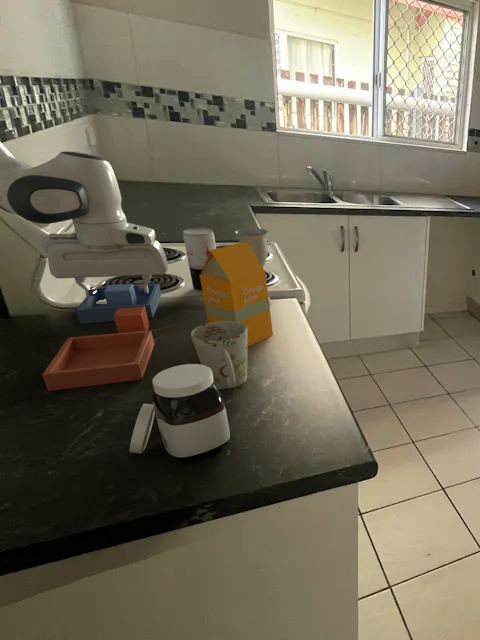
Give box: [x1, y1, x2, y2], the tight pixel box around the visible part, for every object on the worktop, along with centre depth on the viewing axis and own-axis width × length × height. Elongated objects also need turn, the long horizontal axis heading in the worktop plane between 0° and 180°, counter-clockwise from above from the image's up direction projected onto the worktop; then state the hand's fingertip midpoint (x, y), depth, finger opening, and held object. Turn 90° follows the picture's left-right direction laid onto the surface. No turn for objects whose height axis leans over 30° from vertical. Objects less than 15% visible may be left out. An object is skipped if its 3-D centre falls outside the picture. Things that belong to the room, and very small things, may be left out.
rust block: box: [114, 307, 150, 333], centre depth 98 cm, size 4×4×4 cm
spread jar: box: [129, 363, 231, 461], centre depth 66 cm, size 12×11×12 cm
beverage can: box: [182, 227, 217, 293], centre depth 121 cm, size 7×7×15 cm
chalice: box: [235, 227, 273, 306], centre depth 114 cm, size 7×7×18 cm
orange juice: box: [200, 242, 274, 348], centre depth 96 cm, size 8×9×20 cm
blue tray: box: [75, 283, 162, 324], centre depth 108 cm, size 13×15×3 cm
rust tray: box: [41, 330, 155, 392], centre depth 85 cm, size 13×15×3 cm
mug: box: [190, 321, 248, 390], centre depth 82 cm, size 8×13×10 cm, turn 40°
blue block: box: [104, 283, 137, 307], centre depth 107 cm, size 4×4×4 cm
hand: (118, 294), depth 107 cm, fingers open, 8 cm apart
